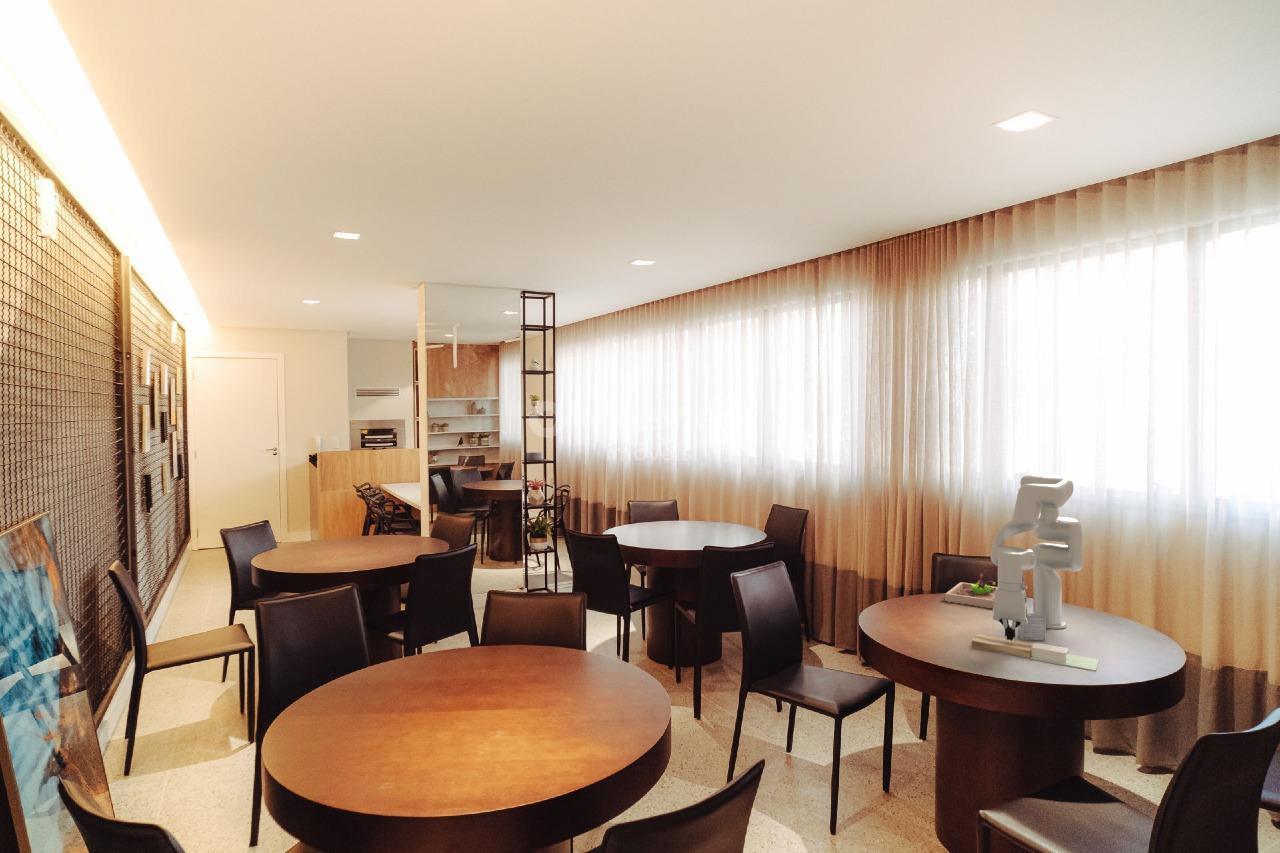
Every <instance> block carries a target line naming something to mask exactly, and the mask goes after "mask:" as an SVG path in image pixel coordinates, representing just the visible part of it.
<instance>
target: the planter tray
mask: <svg viewBox="0 0 1280 853" xmlns="http://www.w3.org/2000/svg"><path fill="white" fill-rule="evenodd" d="M971 584H972V583H968V582H962V581H961V582H959V583H957V584H956V585H955V586H954V587H952V588H951V589H950V590H948V591H947V592H946V593H944V602H945V601H948V602H947V603H950V602H955V603H954V604H957V603H962V604H961V605H964V604H969V605H968V606H970V605H975V606H974V607H977V606H980V607H979V608H984V607H986V608H985V609H990V608H992V610H993V606H994V600H991V599H984V598H977V597H970V596H963V595H957V593H959V592H960V590H961V589H969V588H970V589H973V588H971V587H972V585H971ZM973 584H974V585H976V586H977V584H976V583H973ZM989 587H990V588H992V587H994V588H993V589H992V590H995V591H996V588H998V586H994V585H993V586H992V585H989ZM989 587H988V588H989ZM990 588H989V589H990ZM1022 591H1025V589H1023V590H1022Z"/></svg>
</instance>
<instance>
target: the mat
mask: <svg viewBox="0 0 1280 853" xmlns="http://www.w3.org/2000/svg"><path fill="white" fill-rule="evenodd" d="M1030 659H1031V661H1036V662H1037V661H1038V662H1044V663H1048V664H1053V665H1060V666H1066V667H1068V668H1069V667H1070V668H1071V667H1072V668H1076V669H1081V670H1087V671H1090V672H1091V671H1093V672H1096V671H1097V667H1098V665H1099V662H1100V659H1098V658H1092V657H1087V656H1082V655H1081V656H1080V655H1075V654H1069V657H1068V660H1067V662H1061V661H1055V660H1050V659H1045V658H1039V657H1034V656H1031V657H1030Z"/></svg>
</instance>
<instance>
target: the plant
mask: <svg viewBox="0 0 1280 853" xmlns="http://www.w3.org/2000/svg"><path fill="white" fill-rule="evenodd" d="M983 576H984V575H983V573H979V579H978V580H977V582H976V583H970V584H971V585H972V587H971V588H973V589H970V588H969V589H961V590H960V592H959V593H957V595H963V596H970V597H977V598H984V599H991V600H994V596H995V590H992V589H993V588H994V587H995V585H996V582H995V581H993V580H987V581H985V582H983ZM988 583H991V586H992V585H993V587H992V588H990V587H989V586H990V585H989V584H988ZM974 584H977V586H976V585H974ZM988 587H989V588H990V589H989V588H988Z"/></svg>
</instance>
